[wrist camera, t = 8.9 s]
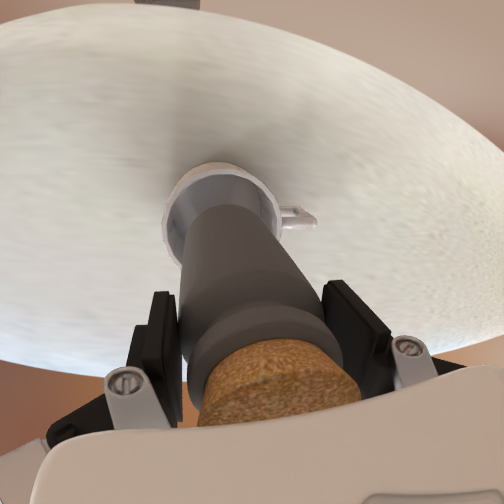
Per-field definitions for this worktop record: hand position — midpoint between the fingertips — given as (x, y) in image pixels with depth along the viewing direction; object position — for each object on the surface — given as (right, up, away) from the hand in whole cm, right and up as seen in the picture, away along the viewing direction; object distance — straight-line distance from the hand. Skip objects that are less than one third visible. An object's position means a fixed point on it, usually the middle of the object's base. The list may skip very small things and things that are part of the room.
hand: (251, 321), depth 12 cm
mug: (-2, +7, +18) cm, 19 cm away
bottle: (-2, +3, +9) cm, 10 cm away
